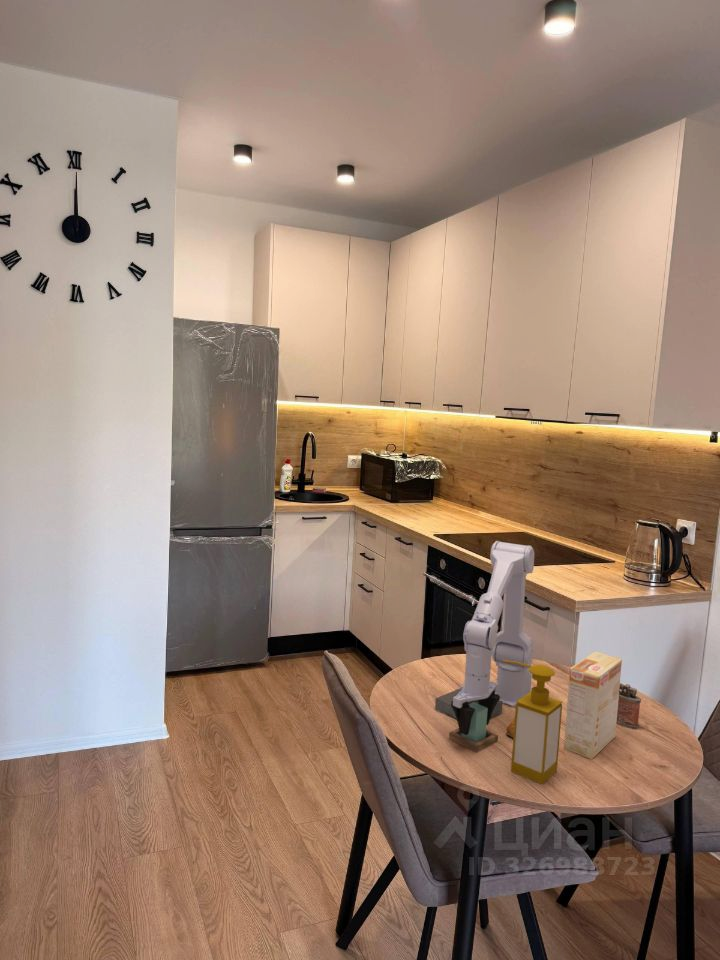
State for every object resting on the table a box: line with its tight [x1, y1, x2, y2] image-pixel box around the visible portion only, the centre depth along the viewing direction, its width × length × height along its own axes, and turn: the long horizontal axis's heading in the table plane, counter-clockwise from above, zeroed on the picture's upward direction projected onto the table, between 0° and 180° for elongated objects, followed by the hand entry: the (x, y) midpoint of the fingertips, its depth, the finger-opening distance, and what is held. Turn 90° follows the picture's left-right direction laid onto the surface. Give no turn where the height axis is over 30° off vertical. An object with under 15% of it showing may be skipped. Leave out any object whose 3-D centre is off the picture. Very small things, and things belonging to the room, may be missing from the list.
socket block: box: [434, 687, 504, 721], centre depth 173 cm, size 12×12×3 cm
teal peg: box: [461, 702, 488, 743], centre depth 158 cm, size 4×4×8 cm
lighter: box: [616, 682, 642, 730], centre depth 170 cm, size 8×3×10 cm, turn 47°
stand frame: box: [448, 727, 499, 753], centre depth 158 cm, size 8×8×2 cm
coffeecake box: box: [563, 651, 623, 760], centre depth 158 cm, size 15×7×20 cm, turn 139°
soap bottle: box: [503, 660, 563, 785], centre depth 146 cm, size 7×13×24 cm, turn 50°
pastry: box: [506, 718, 515, 738], centre depth 163 cm, size 9×7×4 cm
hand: (473, 728), depth 158 cm, fingers open, 7 cm apart
